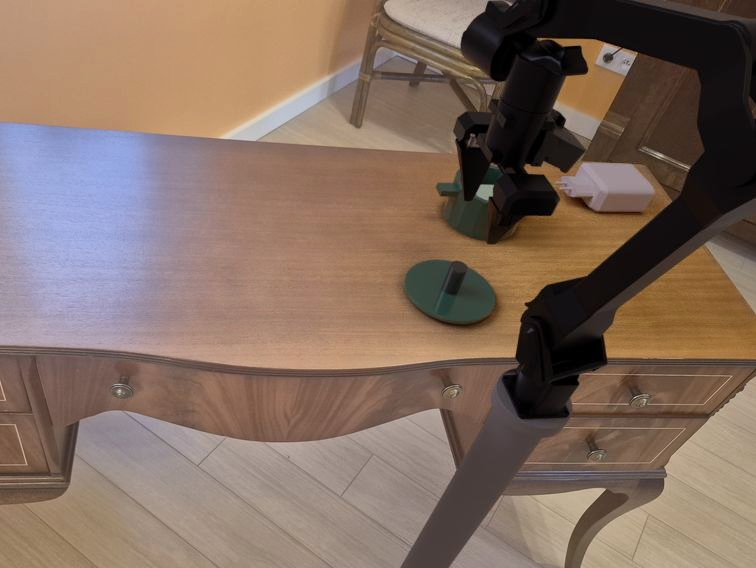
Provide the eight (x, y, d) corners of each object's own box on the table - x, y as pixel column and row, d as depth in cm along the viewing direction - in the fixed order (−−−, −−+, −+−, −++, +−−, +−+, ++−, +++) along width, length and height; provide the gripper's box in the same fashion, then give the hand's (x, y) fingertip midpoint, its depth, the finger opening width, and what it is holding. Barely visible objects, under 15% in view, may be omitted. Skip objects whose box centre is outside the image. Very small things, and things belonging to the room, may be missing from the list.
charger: (540, 183, 108) (615, 184, 111) (563, 214, 102) (642, 214, 105) (551, 159, 105) (628, 160, 108) (575, 189, 99) (657, 190, 102)
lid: (506, 326, 82) (520, 298, 78) (416, 327, 80) (427, 299, 76) (475, 265, 90) (487, 237, 86) (393, 265, 88) (402, 236, 84)
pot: (541, 241, 96) (559, 207, 92) (439, 240, 93) (452, 204, 89) (514, 199, 104) (529, 165, 99) (419, 196, 101) (430, 161, 96)
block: (497, 225, 97) (507, 201, 94) (470, 224, 96) (480, 200, 93) (487, 208, 100) (497, 184, 97) (461, 208, 99) (471, 183, 96)
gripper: (635, 148, 61) (568, 269, 73) (559, 68, 74) (511, 182, 85) (532, 143, 60) (479, 268, 71) (472, 63, 72) (435, 180, 83)
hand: (478, 221), depth 78 cm, fingers open, 9 cm apart
